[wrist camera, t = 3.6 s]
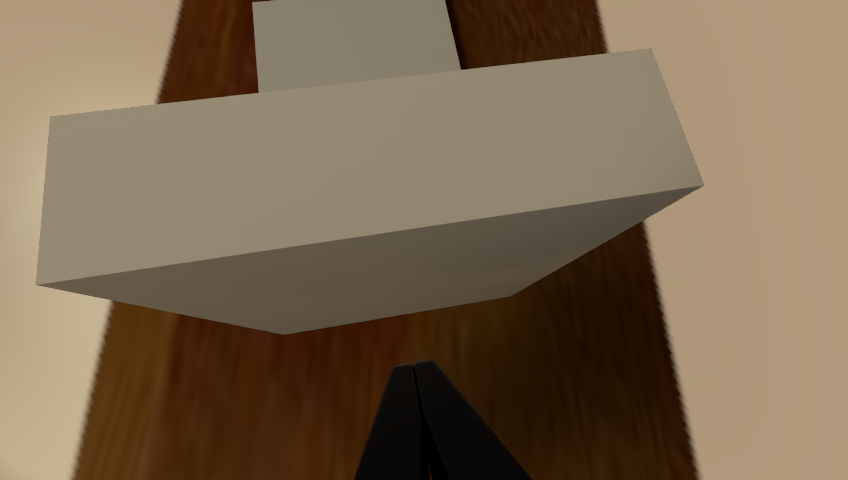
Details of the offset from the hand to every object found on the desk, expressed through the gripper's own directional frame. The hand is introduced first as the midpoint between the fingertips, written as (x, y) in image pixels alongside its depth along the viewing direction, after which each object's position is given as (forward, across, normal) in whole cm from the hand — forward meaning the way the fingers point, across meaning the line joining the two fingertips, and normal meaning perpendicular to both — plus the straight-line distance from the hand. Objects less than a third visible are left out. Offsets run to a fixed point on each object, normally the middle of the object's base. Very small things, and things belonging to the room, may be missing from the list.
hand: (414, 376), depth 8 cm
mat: (+14, 0, -3) cm, 14 cm away
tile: (+8, 0, +3) cm, 8 cm away
